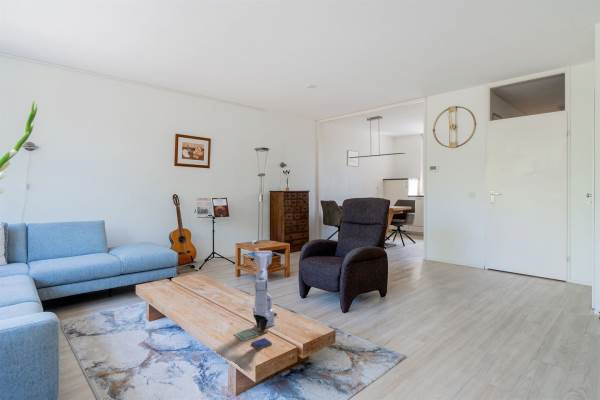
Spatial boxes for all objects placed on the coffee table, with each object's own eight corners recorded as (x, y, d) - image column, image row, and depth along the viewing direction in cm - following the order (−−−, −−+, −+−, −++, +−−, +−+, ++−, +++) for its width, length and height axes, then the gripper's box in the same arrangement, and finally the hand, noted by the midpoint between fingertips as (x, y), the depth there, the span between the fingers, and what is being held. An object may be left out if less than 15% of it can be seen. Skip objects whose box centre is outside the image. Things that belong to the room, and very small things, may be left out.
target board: (250, 329, 185) (250, 328, 185) (259, 335, 177) (259, 334, 177) (234, 334, 178) (234, 333, 178) (242, 341, 171) (242, 340, 171)
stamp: (263, 330, 170) (263, 319, 170) (267, 333, 167) (267, 321, 167) (255, 333, 167) (255, 322, 166) (260, 336, 164) (260, 324, 164)
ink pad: (264, 339, 172) (264, 337, 172) (271, 344, 167) (271, 342, 167) (251, 344, 168) (251, 341, 167) (258, 349, 162) (258, 347, 162)
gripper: (247, 300, 169) (247, 326, 170) (262, 308, 158) (262, 336, 159) (259, 297, 174) (259, 322, 174) (274, 305, 162) (274, 332, 163)
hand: (261, 328), depth 167 cm, fingers closed on stamp, 3 cm apart
